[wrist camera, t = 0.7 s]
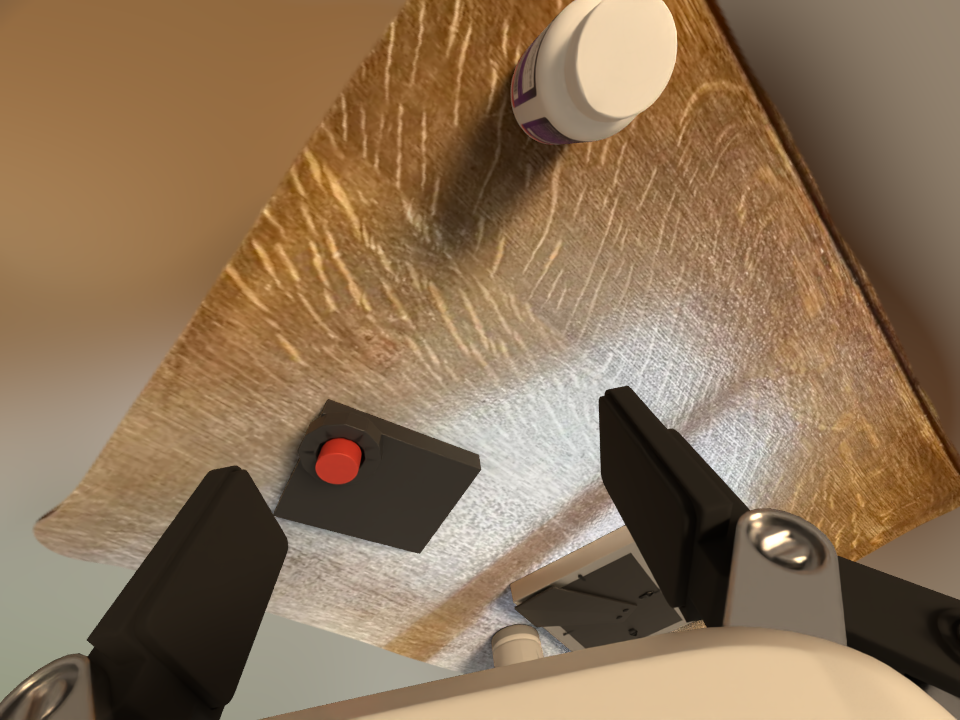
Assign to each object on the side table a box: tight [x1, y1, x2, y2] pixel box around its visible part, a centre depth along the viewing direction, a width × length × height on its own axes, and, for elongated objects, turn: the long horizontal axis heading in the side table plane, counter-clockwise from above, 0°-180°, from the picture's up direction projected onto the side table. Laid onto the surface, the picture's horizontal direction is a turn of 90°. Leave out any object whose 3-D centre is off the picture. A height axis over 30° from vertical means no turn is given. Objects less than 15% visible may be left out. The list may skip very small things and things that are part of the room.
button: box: [315, 438, 362, 484], centre depth 29 cm, size 3×3×2 cm
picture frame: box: [510, 525, 694, 652], centre depth 47 cm, size 16×3×21 cm
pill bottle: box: [511, 0, 677, 145], centre depth 19 cm, size 5×5×10 cm
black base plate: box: [273, 399, 481, 554], centre depth 34 cm, size 14×13×4 cm
